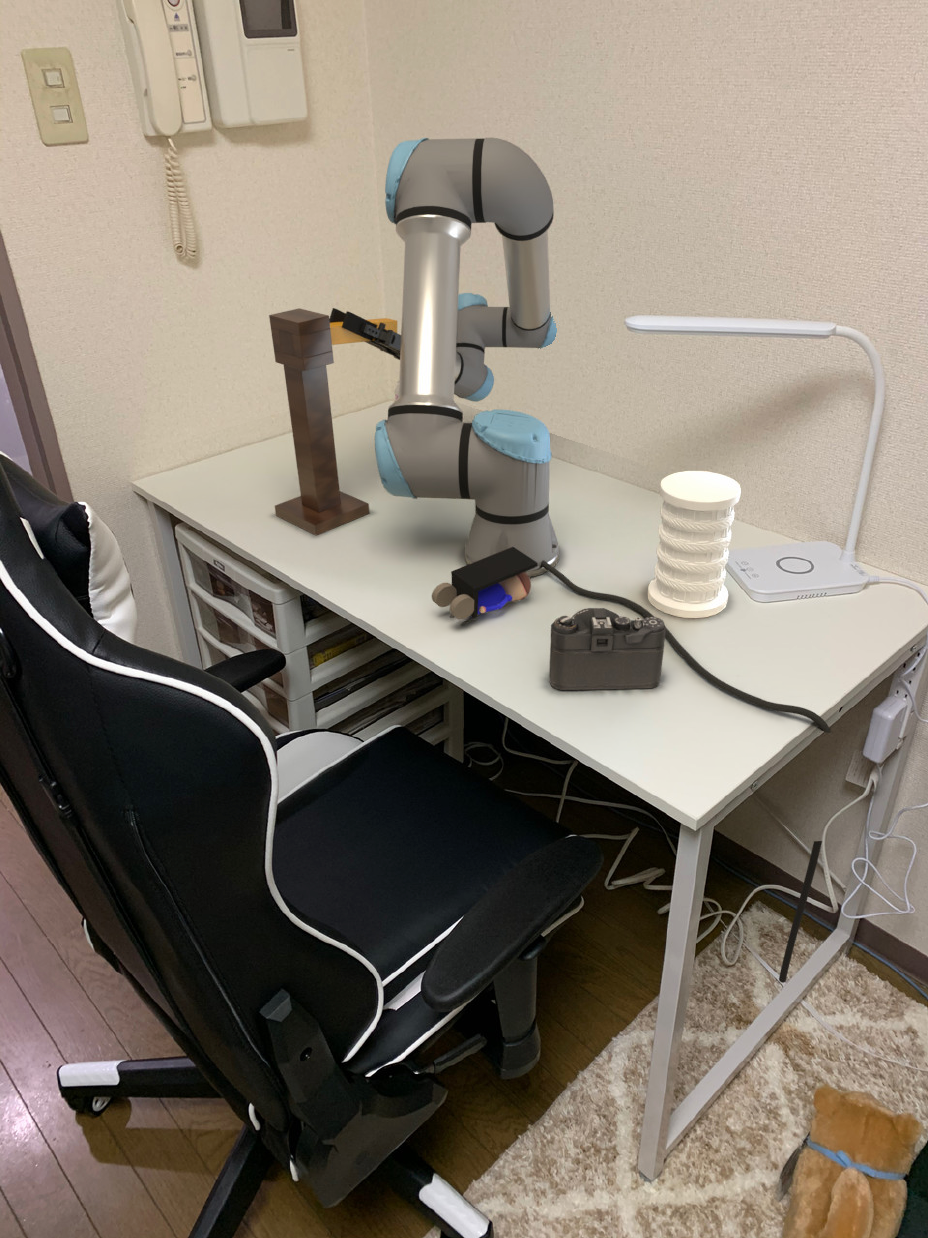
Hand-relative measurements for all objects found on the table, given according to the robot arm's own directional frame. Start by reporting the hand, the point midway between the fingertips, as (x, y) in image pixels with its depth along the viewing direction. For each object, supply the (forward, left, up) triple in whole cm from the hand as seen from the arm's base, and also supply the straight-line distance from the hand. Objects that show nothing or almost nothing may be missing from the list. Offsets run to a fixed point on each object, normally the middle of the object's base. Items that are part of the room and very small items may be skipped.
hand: (338, 317), depth 149 cm
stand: (-2, +8, -33) cm, 34 cm away
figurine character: (-46, 0, -33) cm, 57 cm away
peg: (+1, -2, -4) cm, 5 cm away
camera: (-67, -5, -33) cm, 75 cm away
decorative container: (-59, -27, -33) cm, 73 cm away
